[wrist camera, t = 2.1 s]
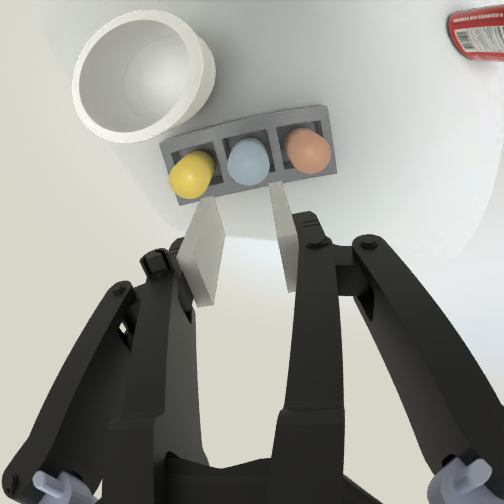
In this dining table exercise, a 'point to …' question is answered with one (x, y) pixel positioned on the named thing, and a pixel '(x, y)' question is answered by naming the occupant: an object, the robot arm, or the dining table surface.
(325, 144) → the orange brown egg
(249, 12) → the dining table surface
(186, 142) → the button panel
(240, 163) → the light blue rounded piece
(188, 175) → the mustard button
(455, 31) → the soda can
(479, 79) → the dining table surface
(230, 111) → the dining table surface
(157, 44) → the jar
